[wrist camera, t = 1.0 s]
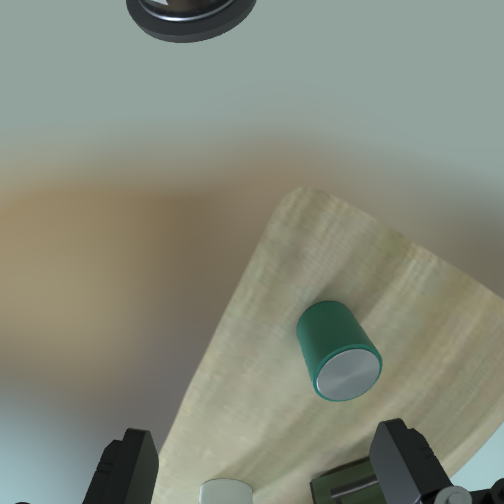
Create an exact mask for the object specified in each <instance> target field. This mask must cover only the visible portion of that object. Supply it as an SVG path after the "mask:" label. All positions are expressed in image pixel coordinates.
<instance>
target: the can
mask: <svg viewBox="0 0 504 504" xmlns="http://www.w3.org/2000/svg"><path fill="white" fill-rule="evenodd" d="M297 336H298V340H299V343H300V346H301V349H302V353H303V356H304V359H305V362H306V365H307V369H308V372H309V375H310V378H311V382H312V385H313V388H314V390H315V392H316V393H317V394H318V395H319V396H320V397H322V398H324V399H326V400H329V401H336V402H338V401H347V400H351V399H354V398H356V397H358V396H360V395H362V394H363V393H365V392H366V391H368V390H369V389H370V388H371V387H372V386H373V385H374V384H375V382H376V381H377V380H378V378H379V376H380V374H381V370H382V358H381V355H380V354H379V352H378V351H377V349H376V348H375V346H374V345H373V343H372V342H371V340H370V339H369V337H368V336H367V334H366V333H365V332H364V330H363V329H362V327H361V326H360V324H359V323H358V321H357V320H356V319H355V317H354V316H353V314H352V313H351V311H350V310H349V309H348V308H347V307H346V306H345V305H343V304H342V303H339V302H335V301H324V302H320V303H317V304H315V305H313V306H312V307H310V308H309V309H308V310H306V311H305V312H304V314H303V315H302V316H301V318H300V320H299V322H298V325H297Z"/></svg>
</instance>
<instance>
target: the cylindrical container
mask: <svg viewBox="0 0 504 504" xmlns="http://www.w3.org/2000/svg"><path fill="white" fill-rule="evenodd" d="M199 504H253V501H252V489H251V487H250V486H249V485H248V484H246V483H244V482H241V481H237V480H232V479H215V480H210V481H208V482H205V483H204V484H203V485H202V486H201V489H200V500H199Z"/></svg>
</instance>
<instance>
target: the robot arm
mask: <svg viewBox="0 0 504 504" xmlns="http://www.w3.org/2000/svg"><path fill="white" fill-rule="evenodd" d="M138 1H139V3H140V4H141V6H142V7H143V9H144V10H145V11H146V12H147V13H148V14H149V15H151V16H152V17H154V18H156V19H158V20H161V21H164V22H169V23H192V22H198V21H202V20H205V19H208V18H211V17H213V16H215V15H217V14H219V13H221V12H223V11H224V10H226V9H227V8H229V7H230V6H231V5H232V4H233V3H234V2H235V1H236V0H138ZM369 455H370V461H371V464H372V466H373V469H374V471H375V474H376V476H377V479H378V481H379V484H380V486H381V489H382V491H383V494H384V496H385V499H386V502H387V504H504V478H502V479H499V480H498V481H497V482H495V484H494V485H493V486H492V487H491V488H490V489H484V490H478V491H472V492H468V491H467V490H466V489H465V488H463V487H460V486H454V485H453V484H452V483H451V481H450V480H449V478H448V476H447V474H446V473H445V471H444V469H443V468H442V466H441V464H440V463H439V461H438V459H437V458H436V456H434V452H433V451H432V449H431V448H429V444H428V443H427V441H426V439H425V438H424V436H423V435H422V434H420V433H419V432H418V431H416V430H415V429H414V428H411V429H407V427H406V425H405V423H404V422H403V420H402V419H400V418H397V419H392V420H387V421H382V422H380V423H379V424H378V427H377V430H376V433H375V436H374V438H373V441H372V444H371V446H370V452H369ZM96 469H97V471H95V473H94V476H93V478H92V481H91V483H90V486H89V488H88V491H87V493H86V496H85V499H84V501H83V503H82V504H151V500H152V496H153V491H154V487H155V482H156V478H157V474H158V469H159V459H158V454H157V451H156V448H155V445H154V442H153V439H152V436H151V433H150V431H148V430H140V429H133V428H128V429H127V430H126V432H125V435H124V438H123V440H122V441H120V440H113V441H112V442H111V443H110V444H109V445H108V446H107V447H106V448H105V449H104V452H103V454H102V456H101V459H100V462H99V464H98V466H97V468H96ZM16 504H29V503H26V502H19V503H16Z"/></svg>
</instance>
